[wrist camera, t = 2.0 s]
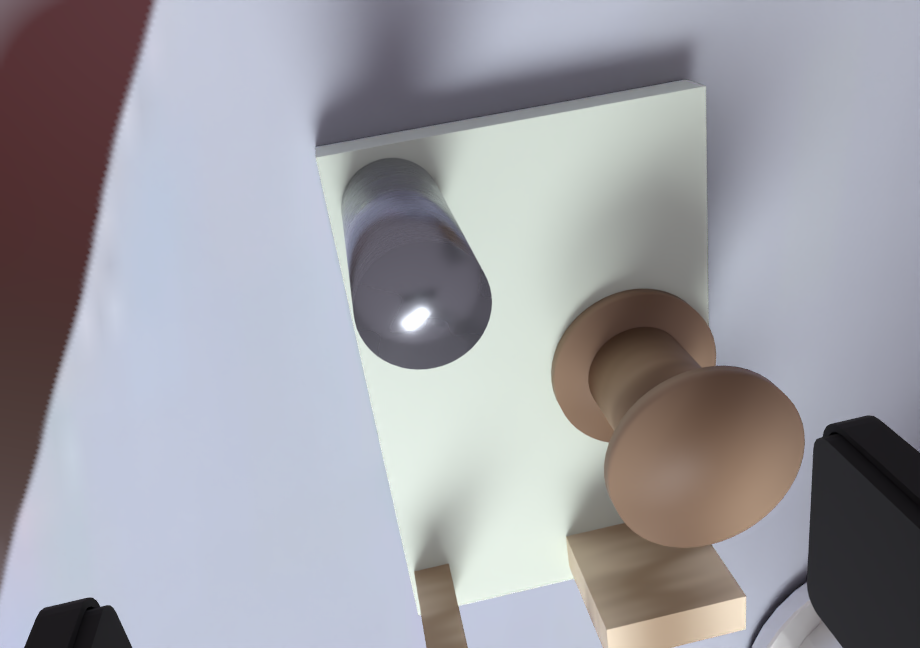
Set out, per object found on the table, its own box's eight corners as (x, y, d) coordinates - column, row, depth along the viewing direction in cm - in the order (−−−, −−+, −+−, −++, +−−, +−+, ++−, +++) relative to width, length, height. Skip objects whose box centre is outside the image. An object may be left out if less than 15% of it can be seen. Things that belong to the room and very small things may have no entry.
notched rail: (687, 508, 33) (746, 596, 29) (687, 539, 34) (745, 629, 29) (414, 571, 32) (430, 672, 28) (420, 601, 33) (438, 705, 28)
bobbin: (707, 273, 29) (809, 356, 23) (709, 416, 31) (800, 523, 26) (543, 307, 28) (603, 400, 22) (558, 449, 31) (616, 566, 25)
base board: (686, 79, 27) (705, 86, 26) (695, 524, 36) (711, 546, 34) (315, 146, 26) (315, 157, 25) (414, 589, 34) (418, 615, 33)
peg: (433, 149, 25) (482, 229, 18) (449, 245, 27) (499, 354, 20) (331, 168, 25) (339, 256, 18) (352, 263, 26) (368, 382, 19)
